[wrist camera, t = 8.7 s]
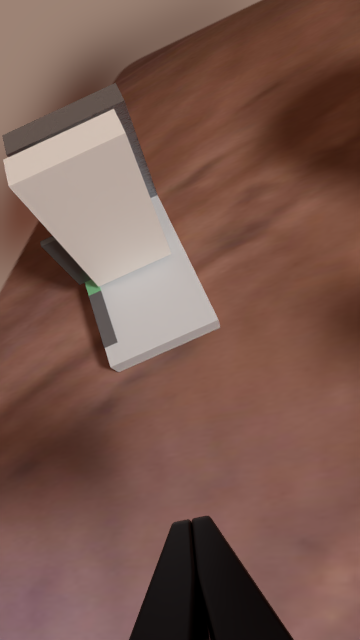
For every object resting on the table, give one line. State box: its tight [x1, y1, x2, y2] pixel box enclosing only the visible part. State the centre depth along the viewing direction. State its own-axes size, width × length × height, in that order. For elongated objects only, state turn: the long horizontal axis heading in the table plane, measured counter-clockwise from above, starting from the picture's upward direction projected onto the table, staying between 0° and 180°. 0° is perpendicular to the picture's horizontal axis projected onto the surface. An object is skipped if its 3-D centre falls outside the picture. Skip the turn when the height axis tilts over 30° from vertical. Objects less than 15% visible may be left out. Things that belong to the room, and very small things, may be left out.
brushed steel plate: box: [3, 83, 157, 198], centre depth 24 cm, size 2×8×8 cm, turn 112°
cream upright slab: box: [3, 109, 172, 287], centre depth 20 cm, size 4×7×10 cm, turn 111°
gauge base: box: [85, 195, 220, 372], centre depth 26 cm, size 14×8×2 cm, turn 22°
